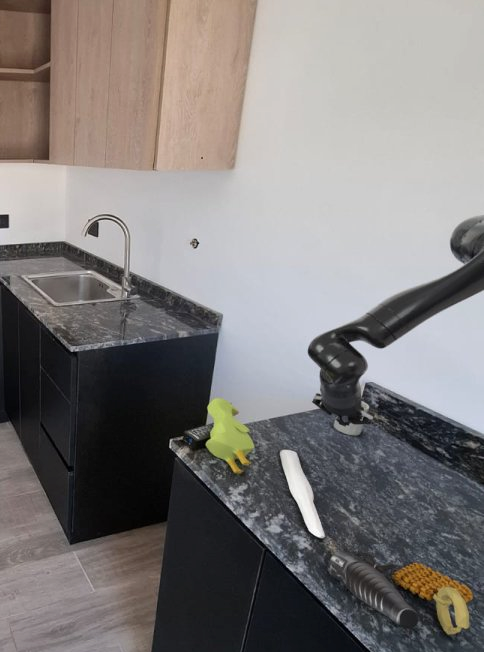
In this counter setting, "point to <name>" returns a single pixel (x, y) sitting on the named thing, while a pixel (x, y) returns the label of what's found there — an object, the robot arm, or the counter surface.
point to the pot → (352, 428)
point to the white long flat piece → (301, 491)
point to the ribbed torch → (372, 586)
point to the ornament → (437, 593)
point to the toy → (228, 434)
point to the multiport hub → (198, 436)
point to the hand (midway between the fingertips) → (343, 422)
